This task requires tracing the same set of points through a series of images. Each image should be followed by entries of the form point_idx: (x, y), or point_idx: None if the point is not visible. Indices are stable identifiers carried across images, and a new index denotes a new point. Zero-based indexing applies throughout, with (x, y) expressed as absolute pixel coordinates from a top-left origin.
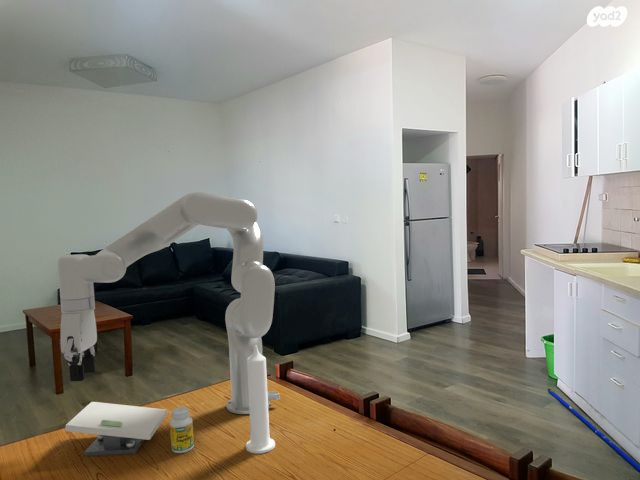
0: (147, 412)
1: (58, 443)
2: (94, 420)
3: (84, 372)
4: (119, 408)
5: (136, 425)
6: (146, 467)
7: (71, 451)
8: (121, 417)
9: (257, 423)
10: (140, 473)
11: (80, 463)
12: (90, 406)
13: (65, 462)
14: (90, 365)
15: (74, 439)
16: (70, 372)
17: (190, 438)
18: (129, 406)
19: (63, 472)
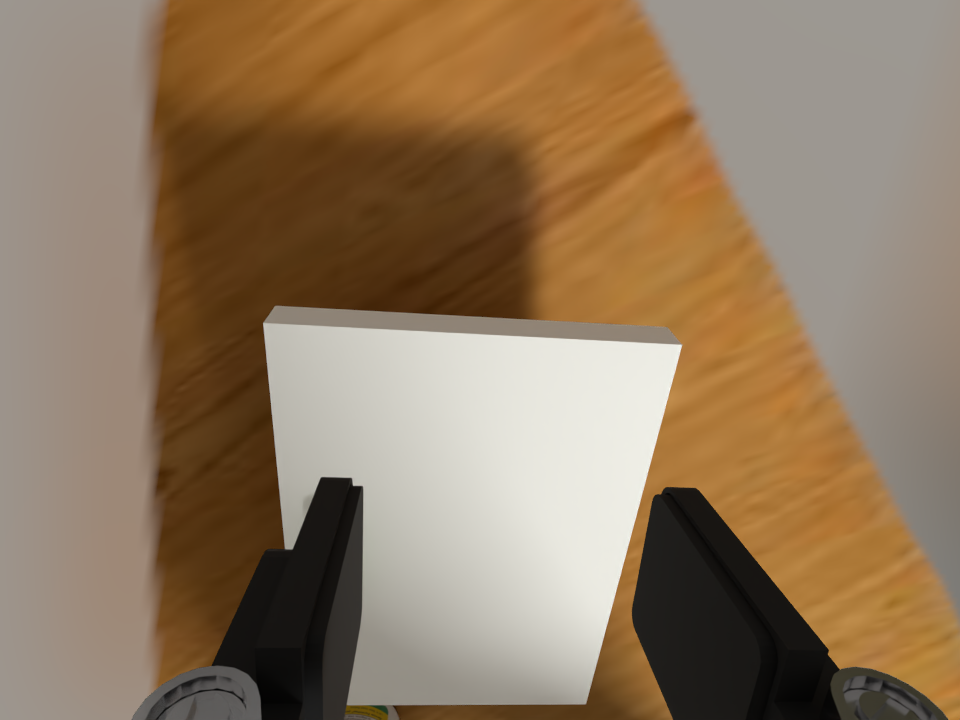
0: (538, 647)
1: (495, 147)
2: (379, 456)
3: (650, 514)
4: (577, 524)
5: (372, 643)
6: (207, 638)
7: (385, 266)
8: (453, 565)
9: None
10: (160, 630)
11: (253, 363)
12: (593, 365)
13: (267, 284)
14: (670, 660)
15: (529, 224)
16: (295, 555)
17: None
18: (610, 561)
19: (168, 316)
